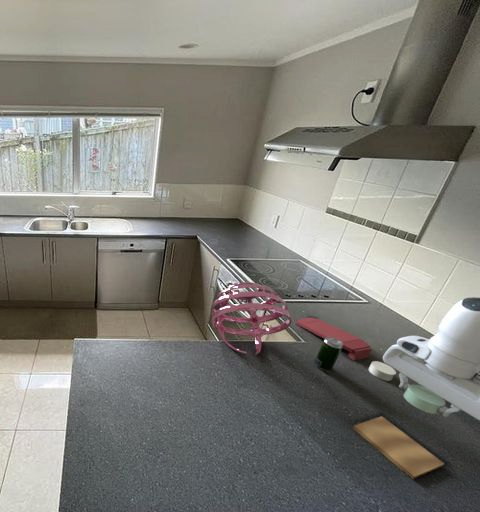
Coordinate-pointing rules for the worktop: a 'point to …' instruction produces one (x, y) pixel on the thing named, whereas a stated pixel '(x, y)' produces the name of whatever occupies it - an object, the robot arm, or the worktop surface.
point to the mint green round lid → (423, 399)
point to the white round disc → (382, 370)
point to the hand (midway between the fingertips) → (421, 400)
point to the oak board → (398, 447)
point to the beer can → (328, 353)
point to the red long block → (337, 337)
